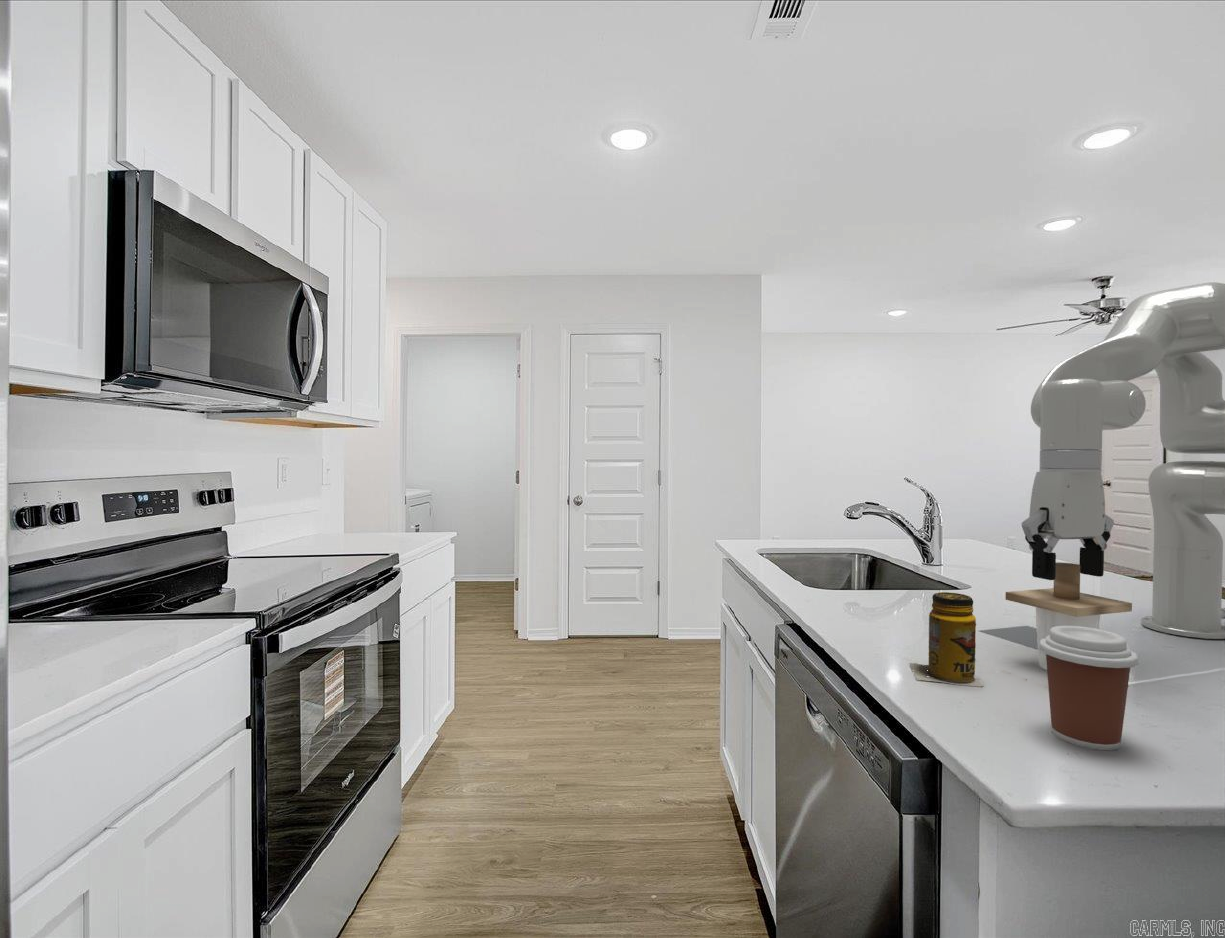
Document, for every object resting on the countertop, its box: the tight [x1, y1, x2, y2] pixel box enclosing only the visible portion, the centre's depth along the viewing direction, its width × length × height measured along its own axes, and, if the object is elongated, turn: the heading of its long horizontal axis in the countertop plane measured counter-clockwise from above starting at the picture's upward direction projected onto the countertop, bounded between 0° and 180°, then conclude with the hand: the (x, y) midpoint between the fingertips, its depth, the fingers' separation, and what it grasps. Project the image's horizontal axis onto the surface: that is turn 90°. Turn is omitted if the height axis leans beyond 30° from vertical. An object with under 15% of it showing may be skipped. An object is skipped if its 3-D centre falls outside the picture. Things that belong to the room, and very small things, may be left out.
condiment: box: [909, 591, 984, 688], centre depth 92 cm, size 7×8×12 cm
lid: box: [1005, 561, 1133, 617], centre depth 94 cm, size 11×11×6 cm
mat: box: [978, 625, 1039, 651], centre depth 111 cm, size 12×12×1 cm
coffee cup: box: [1038, 626, 1139, 751], centre depth 72 cm, size 9×9×12 cm
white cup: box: [1035, 607, 1101, 671], centre depth 94 cm, size 8×8×10 cm
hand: (1067, 576), depth 94 cm, fingers open, 9 cm apart
